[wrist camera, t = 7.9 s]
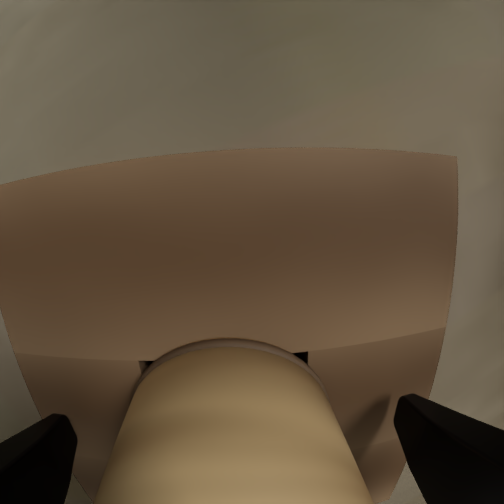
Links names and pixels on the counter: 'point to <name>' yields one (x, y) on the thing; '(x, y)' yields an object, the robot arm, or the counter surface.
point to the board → (232, 280)
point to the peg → (231, 432)
